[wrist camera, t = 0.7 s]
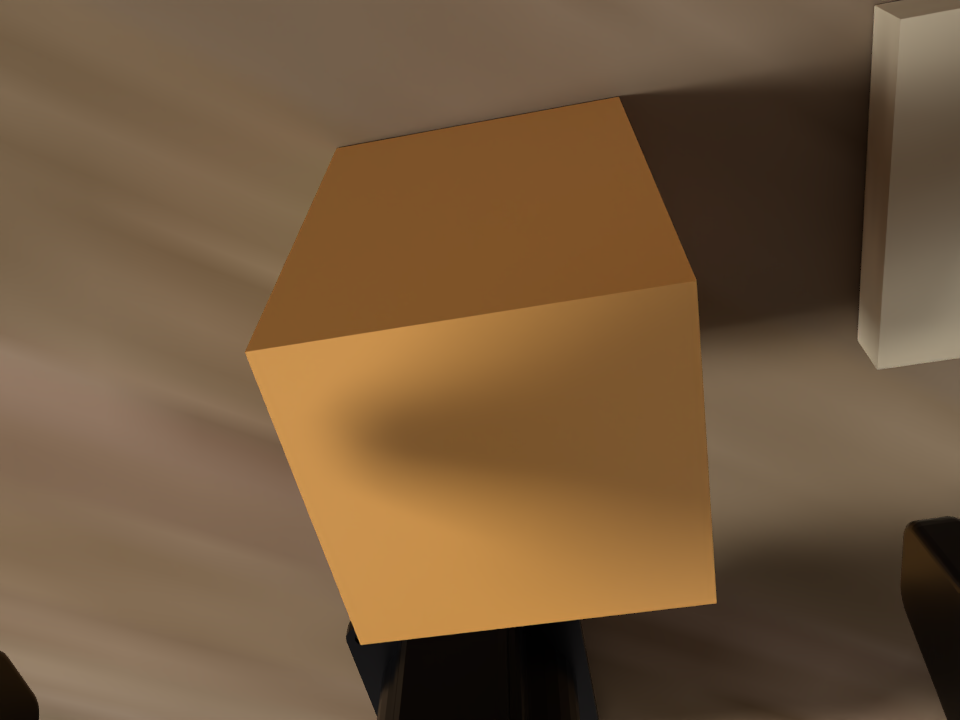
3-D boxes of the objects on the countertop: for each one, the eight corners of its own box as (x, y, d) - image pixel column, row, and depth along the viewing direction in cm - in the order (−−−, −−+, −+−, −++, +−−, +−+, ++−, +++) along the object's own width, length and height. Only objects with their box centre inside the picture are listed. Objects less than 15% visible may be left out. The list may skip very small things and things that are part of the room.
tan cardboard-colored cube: (644, 341, 20) (716, 603, 13) (402, 378, 20) (360, 645, 14) (618, 96, 17) (696, 280, 10) (336, 148, 17) (245, 352, 11)
